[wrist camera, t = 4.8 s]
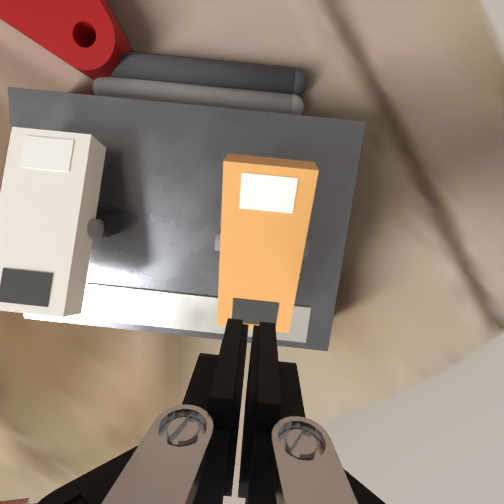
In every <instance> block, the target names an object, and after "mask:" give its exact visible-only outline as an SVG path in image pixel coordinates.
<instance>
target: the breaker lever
mask: <svg viewBox="0 0 504 504" xmlns="http://www.w3.org/2000/svg"><path fill="white" fill-rule="evenodd" d="M318 172H319V170H318V168H317V166H316V164H315V162H311V161H301V160H291V159H280V158H270V157H260V156H250V155H240V154H230V153H228V155H227V156H226V158H225V159H224V161H223V183H222V208H221V232H216V237H215V251H220V259H219V285H218V310H217V326H226V324H227V319H228V318H231V319H241V320H243V324H249V326H248V329H253V326H254V325H259V324H260V322H269V323H275V324H276V332H282V333H289V330H290V324H291V319H292V314H293V308H294V303H295V297H296V292H297V286H298V281H299V275H300V270H301V265H302V260H307V258H308V254H309V241H306V237H307V232H308V226H309V221H310V216H311V210H312V205H313V199H314V194H315V188H316V183H317V177H318Z"/></svg>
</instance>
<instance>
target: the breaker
mask: <svg viewBox="0 0 504 504" xmlns="http://www.w3.org/2000/svg"><path fill="white" fill-rule="evenodd" d="M105 153H106V147H105V146H104V145H102V144H101V143H100V142H99V141H98V140H97V139H96V138H95V137H93V136H92V135H91V134H81V133H71V132H61V131H51V130H40V129H30V128H20V127H12V130H11V136H10V142H9V147H8V153H7V159H6V164H5V170H4V176H3V181H2V187H1V193H0V310H1V311H10V312H19V313H28V314H38V315H47V316H56V317H67V316H72V315H77V314H81V313H82V307H83V300H84V293H85V287H86V280H87V273H88V267H89V260H90V253H91V246H92V240H93V238H101V237H102V236H103V233H104V223H103V221H102V220H100V219H96V213H97V206H98V200H99V193H100V186H101V179H102V173H103V166H104V159H105Z"/></svg>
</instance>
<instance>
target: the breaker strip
mask: <svg viewBox="0 0 504 504" xmlns="http://www.w3.org/2000/svg"><path fill="white" fill-rule="evenodd" d="M8 96H9V111H10V125H11V130H12V127H20V128H30V129H40V130H51V131H61V132H71V133H81V134H91V135H92V136H93V137H95V138H96V139H97V140H98V141H99V142H100V143H101V144H102V145H104V146H105V147H106V153H105V159H104V166H103V173H102V179H101V186H100V193H99V200H98V206H97V213H96V219H100V220H102V221H103V223H104V233H103V236H102V237H101V238H93V240H92V246H91V253H90V260H89V267H88V273H87V280H86V287H85V293H84V300H83V307H82V313H81V314H77V315H72V316H67V317H56V316H47V315H38V314H28V313H24V318H28V319H37V320H46V321H55V322H65V323H74V324H83V325H92V326H101V327H111V328H120V329H129V330H138V331H147V332H157V333H166V334H175V335H184V336H194V337H203V338H212V339H221V340H223V336H224V332H225V328H226V326H217V310H218V285H219V259H220V251H215V237H216V232H221V208H222V183H223V161H224V159H225V158H226V156H227V155H228V153H230V154H240V155H250V156H260V157H270V158H280V159H291V160H301V161H311V162H315V164H316V166H317V168H318V170H319V172H318V177H317V183H316V188H315V194H314V199H313V205H312V210H311V216H310V221H309V226H308V232H307V237H306V241H309V254H308V258H307V260H302V265H301V270H300V275H299V281H298V286H297V292H296V297H295V303H294V308H293V314H292V319H291V324H290V330H289V333H282V332H276V338H277V346H286V347H295V348H304V349H313V350H322V351H328V346H329V340H330V334H331V328H332V322H333V316H334V310H335V304H336V298H337V292H338V286H339V280H340V275H341V269H342V263H343V257H344V251H345V245H346V239H347V233H348V227H349V221H350V215H351V209H352V203H353V197H354V191H355V185H356V179H357V173H358V167H359V161H360V155H361V149H362V143H363V137H364V132H365V126H366V121H356V120H346V119H335V118H325V117H315V116H304V115H294V114H284V113H273V112H263V111H252V110H242V109H232V108H221V107H211V106H201V105H190V104H180V103H169V102H159V101H149V100H138V99H128V98H118V97H107V96H97V95H86V94H76V93H66V92H55V91H45V90H35V89H24V88H14V87H8ZM252 335H253V329H248V337H247V342H249V343H252Z"/></svg>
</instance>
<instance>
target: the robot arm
mask: <svg viewBox="0 0 504 504" xmlns="http://www.w3.org/2000/svg"><path fill="white" fill-rule="evenodd" d="M248 326H249V324H243V320H241V319H231V318H228V319H227V324H226V328H225V332H224V336H223V340H222V344H221V349H220V353H219V355H213V354H204V353H200V355H199V357H198V360H197V363H196V366H195V369H194V371H193V374H192V377H191V380H190V383H189V386H188V389H187V392H186V395H185V398H184V400H183V403H182V405H177V406H174V407H171V408H168V409H167V410H165V411H164V412H162V413H161V414H160V415H159V416H158V417H157V418H156V419H155V421H154V422H153V424H152V425H151V427H150V428H149V430H148V432H147V433H146V435H145V436H144V438H143V439H142V441H141V443H140V444H139V445H138V446H136V447H134V448H132V449H131V450H129V451H127V452H125V453H123V454H121V455H119V456H118V457H116V458H114V459H112V460H110V461H108V462H106V463H105V464H103V465H101V466H99V467H97V468H95V469H93V470H92V471H90V472H88V473H86V474H84V475H82V476H80V477H78V478H77V479H75V480H73V481H71V482H69V483H67V484H65V485H64V486H62V487H60V488H58V489H56V490H54V491H53V492H51V493H50V494H48V495H47V496H45V497H44V498H42V499H41V500H40V501H39V502H38V503H35V504H222V503H223V496H231V495H232V486H233V476H234V466H235V457H236V447H237V437H238V428H239V418H240V408H241V398H242V388H243V378H244V368H245V357H246V347H247V337H248ZM238 497H241V498H246V502H245V504H385V503H384V502H383V501H382V500H380V499H379V498H378V497H377V496H376V495H375V494H373V493H372V492H371V491H370V490H369V489H367V488H366V487H365V486H364V485H363V484H361V483H360V482H359V481H358V480H356V479H355V478H354V477H353V476H352V475H350V474H349V473H348V472H347V471H345V470H344V469H343V467H342V465H341V462H340V460H339V457H338V455H337V453H336V450H335V448H334V446H333V443H332V441H331V438H330V437H329V435H328V433H327V432H326V431H325V430H324V429H323V428H322V427H321V426H320V425H319V424H317V423H316V422H314V421H312V420H310V419H307V418H305V413H304V407H303V401H302V395H301V389H300V383H299V377H298V371H297V365H296V363H289V362H280V361H278V351H277V338H276V324H275V323H269V322H260V324H259V325H254V326H253V335H252V344H251V353H250V362H249V372H248V381H247V390H246V401H245V414H244V426H243V439H242V452H241V465H240V479H239V491H238ZM0 504H30V502H29V498H25V499H17V500H8V501H0Z"/></svg>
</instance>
